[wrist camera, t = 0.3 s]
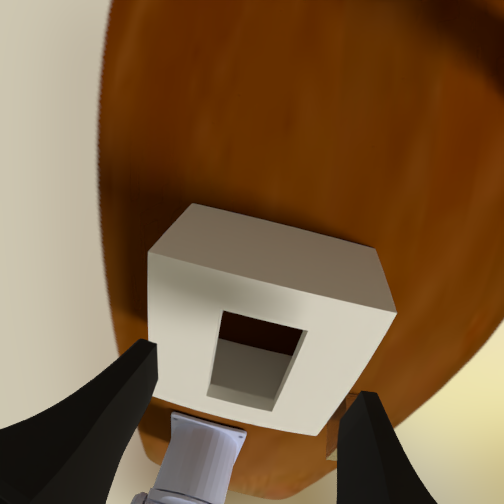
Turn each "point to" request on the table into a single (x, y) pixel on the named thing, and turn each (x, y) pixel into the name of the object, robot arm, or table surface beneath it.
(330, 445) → the wooden brick
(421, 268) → the table surface
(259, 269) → the slot box
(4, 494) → the robot arm
